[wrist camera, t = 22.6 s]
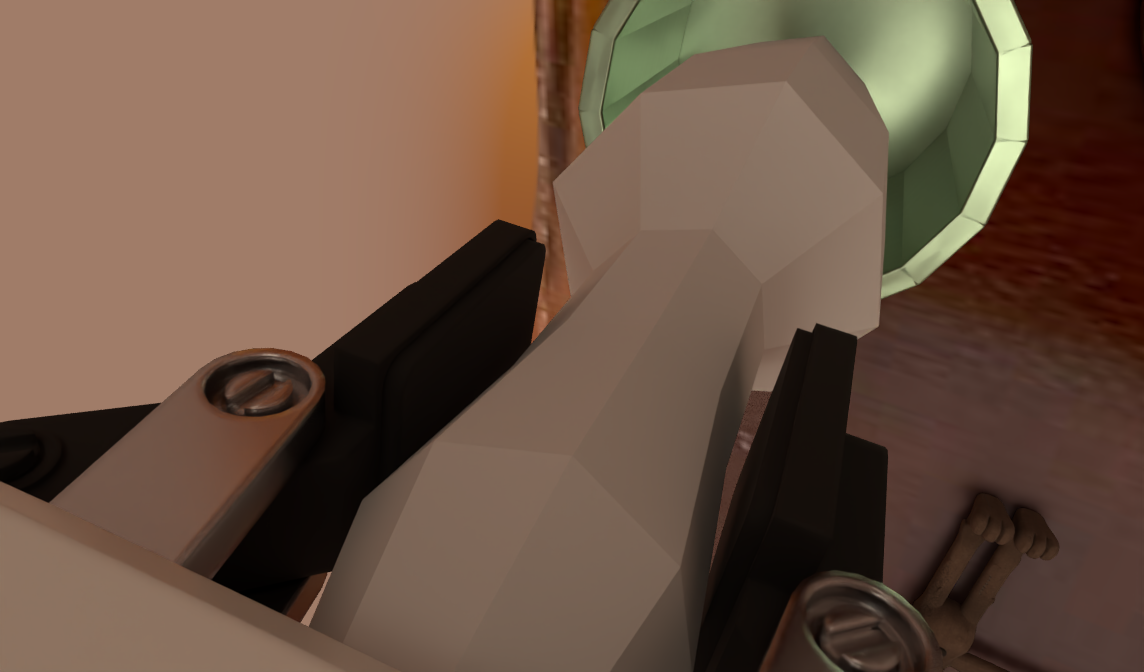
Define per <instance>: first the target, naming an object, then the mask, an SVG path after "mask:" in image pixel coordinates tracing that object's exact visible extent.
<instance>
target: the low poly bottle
mask: <svg viewBox="0 0 1144 672" xmlns="http://www.w3.org/2000/svg"><path fill="white" fill-rule="evenodd" d="M888 144H889V132H888V130H887V128H886V126H885V124H884V122H883V120H882V118H881V116H880V114H879V111H878V109H877V107H876V105H875V103H874V101H873V99H872V97H871V95H870V93H869V91H868V89H867V87H866V85H865V83H864V82H863V81H862V80H861V79H860V77H859V76H858V75H857V74H856V73H855V71H854V70H853V69H852V68H851V67H850V66H849V64H848V63H847V62H846V61H845V60H844V59H843V57H842V56H841V55H840V54H839V53H838V51H837V50H836V49H835V48H834V47H833V46H832V44H831V43H830V42H829V41H828V40H827V38H826V37H825V36H815V37H805V38H795V39H786V40H776V41H766V42H758V43H753V44H747V45H742V46H737V47H731V48H726V49H721V50H715V51H710V52H705V53H699V54H694V55H693V56H692V57H690V58H689V59H687V60H686V61H685V62H683V63H682V64H680V65H679V66H678V67H676V68H675V69H674V70H672V71H671V72H669V73H668V74H667V75H665V76H664V77H663V78H661V79H660V80H658V81H657V82H656V83H654V84H653V85H652V86H650V87H649V88H647V89H646V90H645V91H643V92H642V93H641V94H640V95H639V96H638V97H637V98H636V99H635V100H634V101H633V102H632V103H631V104H630V105H629V106H628V107H627V108H626V109H625V110H624V111H623V112H622V113H621V114H620V115H619V116H618V117H617V118H616V119H615V120H614V121H613V122H612V123H611V124H610V125H609V126H608V127H607V128H606V129H605V130H604V131H603V132H602V133H601V134H600V135H599V136H598V137H597V138H596V139H595V140H594V141H593V142H592V143H591V144H590V145H589V146H588V147H587V148H586V149H585V150H584V151H583V152H582V153H581V154H580V155H579V156H578V157H577V158H576V159H575V160H574V161H573V162H572V163H571V164H570V165H569V166H568V167H567V168H566V169H565V170H564V171H563V172H562V173H561V175H560V176H559V177H558V178H557V179H556V180H555V181H554V182H553V187H554V193H555V199H556V206H557V212H558V218H559V225H560V231H561V237H562V243H563V250H564V256H565V262H566V269H567V275H568V281H569V287H570V294H571V298H570V299H569V300H568V301H567V303H566V304H565V305H564V306H563V307H562V309H561V310H560V311H559V312H558V313H557V314H556V316H555V317H554V318H553V319H552V320H551V321H550V323H549V324H548V325H547V326H546V327H545V329H544V330H543V331H542V332H541V333H540V334H539V336H538V337H537V338H536V339H535V341H533V343H532V344H531V345H530V346H529V347H528V349H527V350H526V351H525V352H524V353H523V354H522V356H521V357H520V358H519V359H518V360H517V361H516V363H515V364H514V365H513V366H512V367H511V368H510V369H509V370H507V371H506V372H505V373H504V374H503V375H502V376H501V377H500V378H498V379H497V380H496V381H495V382H494V383H493V384H492V385H491V386H490V387H488V388H487V389H486V390H485V391H484V392H483V393H482V394H481V395H479V396H478V397H477V398H476V399H475V400H474V401H473V402H472V403H470V404H469V405H468V406H467V407H466V408H465V409H464V410H463V411H462V412H460V413H459V414H458V415H457V416H456V417H455V418H454V419H453V420H451V421H450V422H449V423H448V424H447V425H446V426H445V427H444V428H442V429H441V430H440V431H439V432H438V433H437V434H436V435H435V436H434V437H432V438H431V439H430V440H429V441H428V442H427V443H426V444H425V445H423V446H422V447H421V448H420V449H419V450H418V451H417V452H416V453H414V454H413V455H412V456H411V457H410V458H409V459H408V460H407V461H405V462H404V463H403V464H402V465H401V466H400V467H399V468H398V469H397V470H395V471H394V472H393V473H392V474H391V475H390V476H389V477H388V478H386V479H385V480H384V481H383V482H382V483H381V484H380V485H379V486H377V487H376V488H375V489H374V490H373V491H372V492H371V493H370V494H369V495H367V496H366V497H365V498H364V499H363V500H362V502H361V504H360V507H359V509H358V511H357V514H356V516H355V518H354V521H353V523H352V525H351V528H350V530H349V533H348V535H347V537H346V540H345V542H344V544H343V547H342V549H341V552H340V554H339V556H338V559H337V561H336V563H335V566H334V568H333V570H332V573H331V576H330V578H329V580H328V582H327V585H326V587H325V590H324V592H323V594H322V597H321V599H320V601H319V604H318V606H317V608H316V611H315V613H314V616H313V618H312V620H311V623H310V625H309V627H310V628H312V629H314V630H316V631H318V632H320V633H322V634H324V635H326V636H328V637H330V638H333V639H335V640H337V641H339V642H341V643H343V644H345V645H347V646H349V647H351V648H353V649H355V650H357V651H360V652H362V653H364V654H366V655H368V656H370V657H372V658H374V659H376V660H378V661H380V662H382V663H384V664H386V665H389V666H391V667H393V668H395V669H397V670H399V671H401V672H693V670H694V663H695V657H696V651H697V645H698V639H699V632H700V626H701V620H702V614H703V608H704V601H705V595H706V589H707V583H708V577H709V571H710V564H711V558H712V552H713V546H714V540H715V533H716V527H717V521H718V515H719V509H720V503H721V496H722V490H723V484H724V478H725V472H726V467H727V464H728V461H729V458H730V455H731V452H732V449H733V446H734V442H735V439H736V436H737V433H738V430H739V427H740V424H741V421H742V418H743V415H744V412H745V408H746V405H747V402H748V399H749V396H750V393H751V390H756V391H773V388H774V386H775V383H776V381H777V378H778V375H779V373H780V370H781V368H782V365H783V363H784V360H785V357H786V355H787V352H788V350H789V347H790V344H791V342H792V339H793V337H794V334H795V332H796V330H797V328H800V329H803V330H806V331H809V332H812V331H813V329H814V327H815V325H816V323H818V324H821V325H824V326H827V327H831V328H834V329H837V330H840V331H843V332H846V333H849V334H852V335H855V336H857V339H859V338H860V337H862V336H864V335H865V334H867V333H869V332H870V331H872V330H873V329H875V328H877V327H878V326H879V315H880V302H881V289H882V275H883V262H884V249H885V227H886V199H887V172H888Z"/></svg>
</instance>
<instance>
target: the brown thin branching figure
mask: <svg viewBox="0 0 1144 672" xmlns="http://www.w3.org/2000/svg"><path fill="white" fill-rule="evenodd" d="M985 540H986V541H988V542H994V541H996V543H998V544H999V545H998V547H997V549H996V550H995V552H994V554H993V555H992V557H991V558H990V560H989V562H988V563H987V565H986V567H985V568H984V570H983V571H982V573H981V575H980V576H979V578H978V579H977V581H976V583H975V584H974V586H973V588H972V589H971V591H970V592H969V594H968V596H967V597H966V599H965V600H964V602H963V604H962V605H961V604H959V603H958V602H956V601H954V600H951V599H949V598H947V597H948V595H949V593H950V592H951V590H952V588H953V587H954V585H955V583H956V582H957V580H958V578H959V577H960V575H961V574H962V572H963V570H964V569H965V567H966V565H967V564H968V562H969V561H970V559H971V557H972V556H973V554H974V553H975V551H976V549H977V548H978V547H979V546H980V545H981V544H982V543H983V542H984V541H985ZM1058 551H1059V543H1058V540H1057V539H1056V537H1055V536H1054V534H1053V533H1052V531H1051V530H1050V529H1049V527H1048V525H1047V524H1046V522H1045V520H1044V518H1043V517H1042V516H1041V515H1040V514H1039V513H1037V512H1034V511H1032V510H1029V509H1026V508H1020V509H1018V510H1017V511H1016V512H1015V514H1014V517H1013V519H1012V520H1011V519H1010V517H1009V515H1008V514H1007V512H1006V509H1005V507H1004V505H1003V503H1002V502H1001V501H1000V500H999V499H998V498H996V497H994V496H991V495H988V494H985V493H980V494H979V495H978V496H977V497H976V499H975V502H974V505H973V508H972V511H971V513H970V515H969V517H968V518H967V519H966V520H965V519H964V520H963V521H962V523H961V525H960V530H959V533H958V535H957V537H956V539H955V541H954V542H953V544H952V546H951V547H950V549H949V551H948V552H947V554H946V556H945V558H944V559H943V561H942V563H941V564H940V566H939V568H938V569H937V571H936V573H935V574H934V576H933V578H932V580H931V581H930V583H929V585H928V586H927V588H926V590H925V591H924V593H923V595H921V596H920V597H919V598H918V599H917V600H914V603H913V607H914V608H915V609H916V610H917V611H918V612H919V613H920V614H921V615H922V617H923V618H924V620H925V621H926V622H927V624H928V625H929V627H930V628H931V629H932V631H933V632H934V634H935V636H936V639H937V642H938V644H939V647H940V649H941V652H942V655H943V670H945V668H947V667H953V668H955V669H956V670H958V671H959V672H1009V671H1007V670H1005V669H1003V668H1001V667H998V666H996V665H994V664H992V663H990V662H987V661H985V660H983V659H981V658H979V657H976V656H974V655H972V654H969V653H967V652H968V651H969V649H970V647H971V645H972V643H973V641H974V637H975V632H976V626H977V623H978V622H979V620H980V619H981V617H982V615H983V614H984V612H985V611H986V609H987V608H988V607H989V606H990V605H991V604H993V603H994V601H995V596H996V594H997V592H998V591H999V589H1000V588H1001V586H1002V585H1003V583H1004V582H1005V580H1006V579H1007V577H1008V576H1009V574H1010V573H1011V572H1012V571H1013V569H1014V568H1015V567H1016V566H1017V565H1018V564H1019V563H1020V561H1021V556H1022V554H1023V553H1026V554H1027V556H1029V557H1030V558H1033V559H1036V558H1039V557H1040V558H1041V559H1043V560H1051V559H1052V558H1054V557H1055V556H1056V555H1057V553H1058Z"/></svg>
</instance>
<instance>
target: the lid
mask: <svg viewBox="0 0 1144 672" xmlns="http://www.w3.org/2000/svg"><path fill="white" fill-rule="evenodd" d="M1140 43H1141V51H1142V58H1143V64H1144V0H1142V6H1141V11H1140Z"/></svg>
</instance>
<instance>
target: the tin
mask: <svg viewBox="0 0 1144 672" xmlns="http://www.w3.org/2000/svg"><path fill="white" fill-rule="evenodd" d="M815 36H825V37H826V38H827V40H828V41H829V42H830V43H831V44H832V46H833V47H834V48H835V49H836V50H837V51H838V53H839V54H840V55H841V56H842V57H843V59H844V60H845V61H846V62H847V63H848V64H849V66H850V67H851V68H852V69H853V70H854V71H855V73H856V74H857V75H858V76H859V77H860V79H861V80H862V81H863V82H864V83H865V85H866V87H867V89H868V91H869V93H870V95H871V97H872V99H873V101H874V103H875V105H876V107H877V109H878V111H879V114H880V116H881V118H882V120H883V122H884V124H885V126H886V128H887V130H888V132H889V144H888V172H887V199H886V227H885V249H884V262H883V275H882V289H881V299H884V298H886V297H889V296H891V295H894V294H896V293H899V292H902V291H904V290H907V289H909V288H912V287H915V286H916V285H917V284H918V285H919V284H921V283H922V282H923V281H924V280H925V279H926V278H927V277H929V276H930V275H931V274H932V273H933V272H934V271H935V270H936V269H938V268H939V267H940V266H941V265H942V264H943V263H944V262H946V261H947V260H948V259H949V258H950V257H951V256H952V255H953V254H955V253H956V252H957V251H958V250H959V249H960V248H961V247H962V246H964V245H965V244H966V243H967V242H968V241H969V240H970V239H972V238H973V237H974V236H975V235H976V234H977V233H978V232H979V231H981V230H982V229H983V228H984V227H985V225H986V224H987V222H988V220H989V218H990V216H991V214H992V212H993V210H994V208H995V206H996V204H997V202H998V200H999V198H1000V196H1001V194H1002V192H1003V190H1004V188H1005V186H1006V184H1007V182H1008V180H1009V178H1010V176H1011V174H1012V172H1013V170H1014V168H1015V166H1016V164H1017V162H1018V160H1019V158H1020V156H1021V154H1022V152H1023V150H1024V148H1025V146H1026V144H1027V141H1028V136H1029V114H1030V91H1031V69H1032V47H1033V45H1032V44H1031V39H1030V36H1029V34H1028V32H1027V30H1026V27H1025V25H1024V23H1023V21H1022V18H1021V16H1020V14H1019V12H1018V9H1017V7H1016V5H1015V3H1014V0H609V1H608V3H607V5H606V6H605V8H604V10H603V11H602V13H601V15H600V16H599V18H598V20H597V21H596V23H595V25H594V28H593V29H592V31H591V37H590V43H589V49H588V55H587V60H586V66H585V72H584V78H583V84H582V90H581V96H580V101H579V107H578V109H579V116H580V121H581V126H582V131H583V136H584V141H585V146H586V148H587V147H588V146H589V145H590V144H591V143H592V142H593V141H594V140H595V139H596V138H597V137H598V136H599V135H600V134H601V133H602V132H603V131H604V130H605V129H606V128H607V127H608V126H609V125H610V124H611V123H612V122H613V121H614V120H615V119H616V118H617V117H618V116H619V115H620V114H621V113H622V112H623V111H624V110H625V109H626V108H627V107H628V106H629V105H630V104H631V103H632V102H633V101H634V100H635V99H636V98H637V97H638V96H639V95H640V94H641V93H642V92H643V91H645V90H646V89H647V88H649V87H650V86H652V85H653V84H654V83H656V82H657V81H658V80H660V79H661V78H663V77H664V76H665V75H667V74H668V73H669V72H671V71H672V70H674V69H675V68H676V67H678V66H679V65H680V64H682V63H683V62H685V61H686V60H687V59H689V58H690V57H692V56H693V55H694V54H699V53H705V52H710V51H715V50H721V49H726V48H731V47H737V46H742V45H747V44H753V43H758V42H766V41H776V40H786V39H795V38H805V37H815Z"/></svg>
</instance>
